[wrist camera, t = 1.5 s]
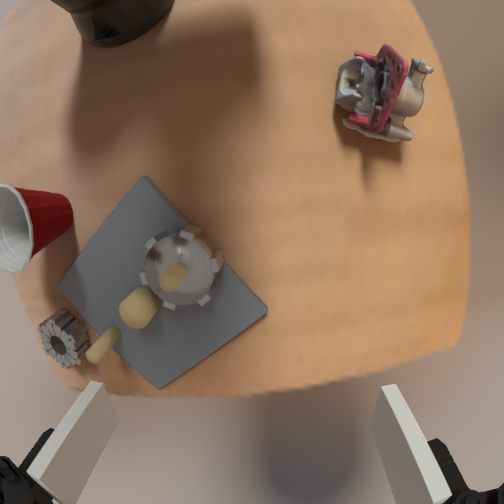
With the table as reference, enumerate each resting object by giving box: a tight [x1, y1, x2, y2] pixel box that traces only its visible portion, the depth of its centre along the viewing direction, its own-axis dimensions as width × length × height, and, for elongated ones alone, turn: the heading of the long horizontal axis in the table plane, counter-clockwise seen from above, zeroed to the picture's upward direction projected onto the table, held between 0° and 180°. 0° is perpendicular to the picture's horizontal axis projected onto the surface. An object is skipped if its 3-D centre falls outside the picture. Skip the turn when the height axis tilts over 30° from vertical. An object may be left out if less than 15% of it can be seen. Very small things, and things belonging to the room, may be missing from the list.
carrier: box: [58, 176, 268, 389], centre depth 31 cm, size 22×22×8 cm
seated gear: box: [139, 224, 224, 310], centre depth 31 cm, size 9×8×4 cm
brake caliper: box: [335, 44, 433, 142], centre depth 25 cm, size 11×11×12 cm
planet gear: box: [38, 309, 91, 370], centre depth 36 cm, size 9×9×4 cm
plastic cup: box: [0, 184, 73, 274], centre depth 27 cm, size 11×11×12 cm
